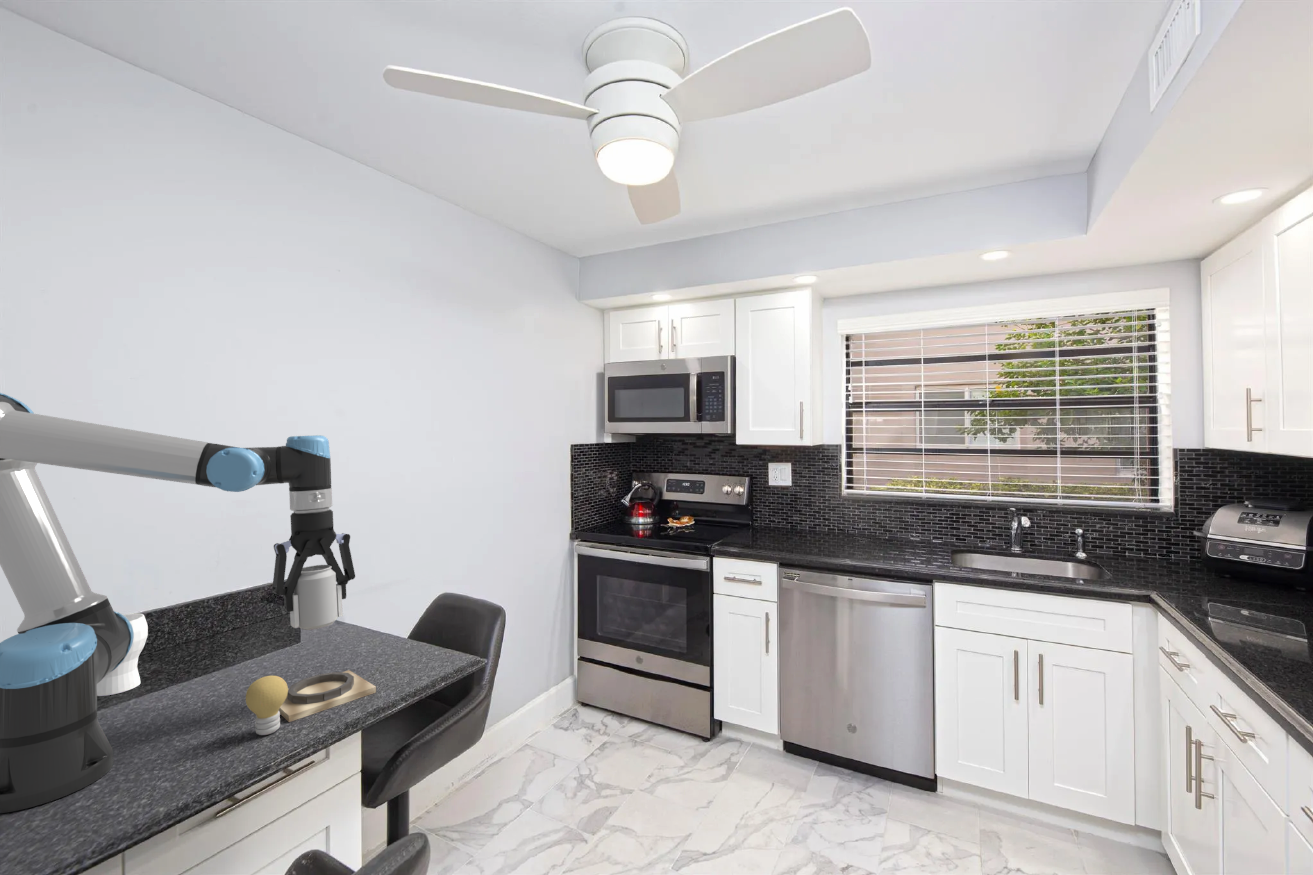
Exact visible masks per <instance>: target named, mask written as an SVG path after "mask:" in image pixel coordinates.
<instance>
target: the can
mask: <svg viewBox="0 0 1313 875" xmlns="http://www.w3.org/2000/svg"><path fill="white" fill-rule="evenodd" d="M331 568H332V566H330V565H327V564H317V565H310V566H306V567H305V566H303V568H302V571H301V574H300V577H299V579H298V582H297V585H296V587H295V590H294V594H297V595H298V608H299V627H298V628H300V630H303V631H313V630H315V631H316V630H319V629H320V630H321V629H324V628H327V627H329V626H333V625H334V623H335V621H336V620H337V619H338V618H339V617H338V612H337V591H336V584H337V582H336V573H335V572H334V571H333V570H332V569H331Z"/></svg>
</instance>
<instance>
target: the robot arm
mask: <svg viewBox="0 0 1313 875" xmlns="http://www.w3.org/2000/svg"><path fill="white" fill-rule="evenodd" d="M37 464H40V465H41V464H42V465H50V466H55V467H57V466H58V467H64V468H71V469H79V470H86V471H92V472H101V473H109V474H116V475H123V476H131V477H138V478H146V479H151V480H152V479H153V480H154V479H155V480H160V481H166V482H167V481H169V482H173V483H174V482H176V483H182V484H190V485H199V486H203V487H209V488H210V487H211V488H215V489H216V488H217V489H219V490H222V491H225V492H230V493H231V492H232V493H233V492H234V493H240V492H244V491H245V492H246V491H248V490H249V489H252V488H253V487H255V486H264V485H277V484H279V485H280V484H288V492H289V493H288V494H289V510H290V511H293V512H292V513H291V514H290V532H291V533H290V537H289V539H288V540H287V541H283V542H281V543H278V542H276V543H275V544H273V549H274V554H275V561H274V569H273V570H274V571H273V580H272V589H271V592H272V593H273V594H275V595H278V596H283V609H284V611H285V612H287V613H289V617H290V618H289V619H290V621H289V622H290V627H292V628H294V629H298V628H299V608H298V595H297V594H294V590H295V587H296V585H297V582H298V579H299V577H300V574H301V571H302V568H304V567H305V566H304V565H305V563H306V562H307V560H308V558H310V557H311V558H313V556H322V558H323V559H324V560H325V563H326V565H330V566H332V568H331V569H332V570H333V571H334V572H335V573H336V591H337V612H338V618H342V617H344V616H343V614H344V613H343V600H346V598H347V584H348V583H349V581H351V580H354V579H355V578H356V573H355V568H354V563H353V557H352V552H351V549H350V548H351V547H350V542H351V535H350V534H349V533H346V532H345V533H344V532H342V533H336V531H335V529H334V513H333V512H334V511H333V510H332V509H330V508H331V507H333V495H332V494H333V493H332V491H333V490H332V469H331V468H332V467H331V464H332V463H331V452H330V442H329V438H327V436H325V435H318V434H317V435H298V436H297V435H296V436H295V435H294V436H292V435H291V436H289V437H287V439H286V443H285V445H281V446H264V447H263V446H261V447H259V446H258V447H257V446H256V447H255V446H253V447H236V446H231V445H226V444H218V443H213V442H207V441H200V440H197V439H196V440H195V439H188V438H183V437H177V436H170V435H166V434H165V435H164V434H158V433H152V432H146V431H141V430H135V429H128V428H124V427H117V426H110V425H105V424H99V423H93V422H88V421H87V422H86V421H81V420H74V419H68V418H63V417H56V416H50V415H45V414H44V415H43V414H40V413H39V414H38V413H34V411H33V410H32V409H31V408H30V407H29V406H28V405H27V404H25V403H24V402H22V401H20V400H19V399H17V398H15V397H13V396H10V395H9V394H6V393H3V392H0V567H1V569H2V571H3V574H4V576H5V577H6V580H7V582H8V584H9V586H10V588H11V589H12V591H13V594H14V596H15V598H16V600H17V602H18V604H19V607H20V609H21V611H22V612H23V615H24V616H23V620H22V621H21V623H20V624H19V625H18V627H17V629H16V632H17V634H14V635H13V636H10V637H8V638H6V639H4V640H2V641H0V814H3V813H5V814H6V813H11V812H12V813H13V812H17V811H21V810H25V809H29V808H33V807H36V806H40V805H43V804H47V803H49V802H53V801H55V800H58V799H60V798H64V797H66V796H68V795H70V794H73V793H75V792H79V791H80V790H83V789H84V788H86V787H87V786H89V785H91V784H93V783H95V782H97V781H98V780H100V779H101V778H102V777H104V776H105V775H106V774H107V773H108V772H109V771H111V769H112V768H113V766H114V750H113V747H112V745H111V743H110V742H109V739H108V737H107V735H106V734H105V732H104V730H103V728H102V726H101V724H100V722H99V720H98V696H97V684H98V683H99V682H100V681H101V680H102V679H103V678H104V677H105V676H106V675H108V674H109V673H110V672H111V671H113V670H114V669H116V668H117V667H118V666H119V665H120V664H121V663H122V661H123V660H124V659H125V657H126V656H127V654H128V652H129V650H130V648H131V646H132V643H133V638H134V633H133V628H132V625H131V623H130V622H129V620H128V619H127V618H126V617H125V616H123V615H122V614H123V613H120V612H117V611H115V610H114V609H113V607H112V604H111V602H110V600H109V598H108V596H107V595H104V594H100V593H96V592H94V591H92V589H91V587H90V584H89V583H88V581H87V579H86V576H85V574H84V571H83V570H82V567H81V566H80V564H79V560H78V559H77V557H76V555H75V553H74V550H73V548H72V545H71V543H70V541H69V540H68V537H67V535H66V533H65V530H64V528H63V526H62V524H61V523H60V520H59V518H58V515H57V513H56V511H55V509H54V507H53V505H52V503H51V501H50V498H49V496H48V494H47V493H46V490H45V488H44V486H43V484H42V481H41V479H40V477H39V475H38V473H37V471H36V466H37ZM335 541H336V543H337V545H338V548H339V554H340V558H341V564H342V568H343V571H342V569H341V567H340V565H339V563H338V561H337V560H336V557H335V556H334V554H335V553H334V552H333V550H332V548H331V547H332V544H333V543H334V542H335ZM290 547H292V548H293V549H294V550H295V551H296V552H295V555H294V557H293V558H294V560H293V561H292V562H293V563H292V565H291V567H290V571H289V573H288V576H287V579H286V582H285V578H286V567H287V558H288V556H287V555H288V553H289V551H290Z"/></svg>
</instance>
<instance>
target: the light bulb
mask: <svg viewBox="0 0 1313 875" xmlns="http://www.w3.org/2000/svg"><path fill="white" fill-rule="evenodd" d="M288 689H289V687H288V683H287V682H286V680H284V678H282V677H280V676H278V675H265V676H262V677H260V678H258V679H256V680H254V681H253V682H252V683H251V684H250V685H249V687H248V688H247V690H246V693H245V703H246V706H247V708H248V709H249V710H250V711H251V712H252V713H253V714H255V715H256V716H255V718H254V720H255V721H254V722H255V726H254V727H255V733H256V734H257V735H259V736H267V735H271V734H273V733H275V732H277V730H278V729H280V727H281V718H280V717H281V716H280V715H281V714H280V712H279V711H278V710H279V708H280V707H281V706H282V704H283V703H284V701H285V699H286V697H287V694H288Z"/></svg>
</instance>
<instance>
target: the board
mask: <svg viewBox="0 0 1313 875" xmlns="http://www.w3.org/2000/svg"><path fill="white" fill-rule="evenodd" d="M376 693H377V686H376V685H374V684H373V683H371V682H369V681H367V680H366V679H365V678H363V677H361V676H360V675H358V674H356V673H355V672H353V671H352V670H350V669H348V670H345V671H342V672H339V671H333V672H326V673H320V674H316V675H313V676H310V677H306V678H303V679H300V680H299V681H297V682H295V683H293V684H292V685H290V687H288V694H287V697H286V699H285V701H284V703H283V704H282V706H281V707H280V708H279V710H278V711H279V712H280V715H281V717H283V719H284V720H286V721H287V722H289V723H291V722H295V721H298V720H300V719H302V718H305V717H308V716H312V715H314V714H317V713H321V712H323V711H326V710H329V709H332V708H334V707H335V708H336V707H338V706H341V705H344V704H347V703H350V702H353V701H354V700H358V699H361V698H364V697H367V696H369V695H373V694H376Z"/></svg>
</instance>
